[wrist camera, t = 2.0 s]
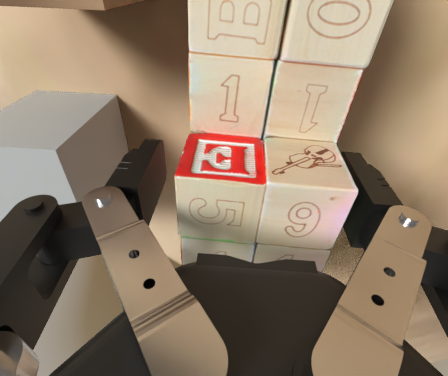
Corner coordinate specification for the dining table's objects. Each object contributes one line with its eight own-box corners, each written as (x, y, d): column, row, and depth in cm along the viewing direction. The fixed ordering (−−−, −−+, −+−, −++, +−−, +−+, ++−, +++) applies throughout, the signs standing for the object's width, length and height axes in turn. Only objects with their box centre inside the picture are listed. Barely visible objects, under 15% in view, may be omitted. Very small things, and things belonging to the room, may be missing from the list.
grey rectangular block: (116, 94, 20) (55, 150, 14) (131, 163, 24) (88, 232, 17) (37, 90, 20) (-60, 142, 14) (64, 159, 24) (-3, 225, 17)
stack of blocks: (221, -137, 13) (133, -499, 3) (355, -124, 13) (708, -452, 3) (205, 204, 26) (180, 340, 16) (270, 211, 26) (284, 351, 16)
